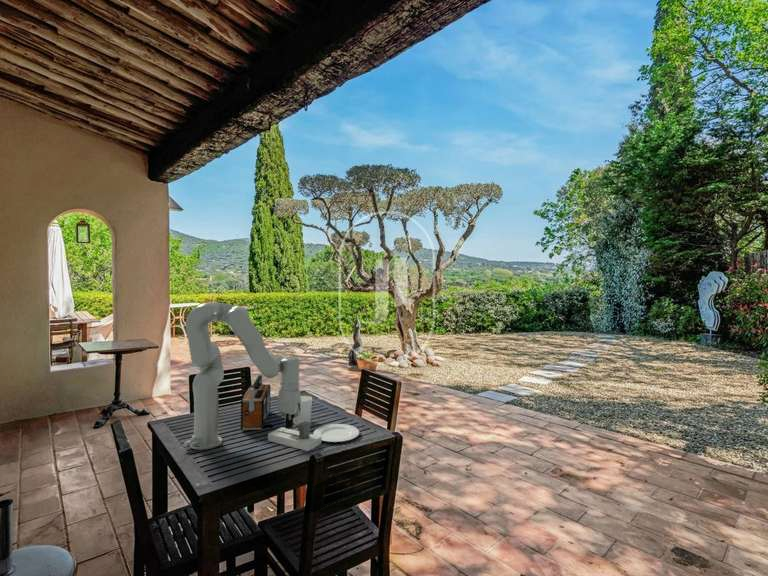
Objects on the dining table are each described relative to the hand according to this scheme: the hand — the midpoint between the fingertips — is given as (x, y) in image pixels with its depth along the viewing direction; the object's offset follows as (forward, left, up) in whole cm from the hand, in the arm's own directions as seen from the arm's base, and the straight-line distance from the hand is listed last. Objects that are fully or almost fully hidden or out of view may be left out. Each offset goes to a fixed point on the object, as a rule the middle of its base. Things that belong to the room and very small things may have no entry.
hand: (289, 427), depth 176 cm
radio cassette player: (+11, +30, -6) cm, 32 cm away
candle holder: (+20, +9, -6) cm, 23 cm away
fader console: (0, -3, -6) cm, 7 cm away
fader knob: (0, -8, -3) cm, 9 cm away
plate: (+15, -15, -6) cm, 22 cm away
